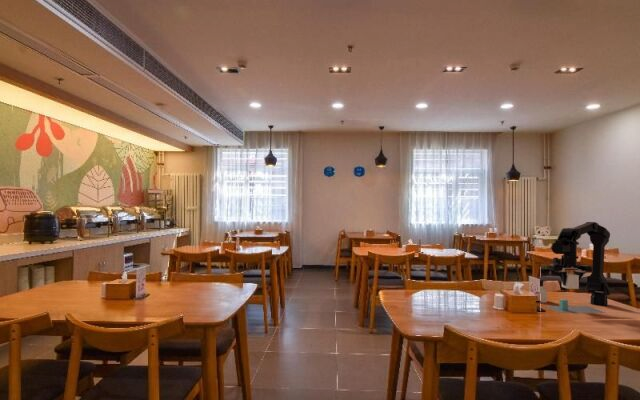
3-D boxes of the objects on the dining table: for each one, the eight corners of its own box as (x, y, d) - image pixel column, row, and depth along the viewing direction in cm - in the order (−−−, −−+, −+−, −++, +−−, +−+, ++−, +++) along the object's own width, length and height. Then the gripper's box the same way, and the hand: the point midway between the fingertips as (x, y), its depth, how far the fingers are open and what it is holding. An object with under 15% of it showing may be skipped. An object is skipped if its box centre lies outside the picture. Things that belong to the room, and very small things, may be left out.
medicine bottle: (541, 300, 221) (540, 278, 221) (547, 303, 214) (546, 280, 214) (527, 300, 221) (527, 278, 222) (532, 303, 214) (532, 280, 215)
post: (564, 309, 198) (564, 299, 198) (568, 310, 195) (567, 300, 195) (559, 309, 198) (559, 299, 198) (562, 310, 195) (562, 300, 195)
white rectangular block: (572, 287, 201) (572, 273, 201) (578, 288, 196) (578, 275, 196) (561, 286, 201) (561, 273, 201) (567, 288, 196) (567, 274, 196)
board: (586, 307, 205) (586, 306, 205) (606, 314, 191) (606, 312, 191) (543, 306, 206) (543, 305, 206) (559, 313, 192) (559, 312, 192)
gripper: (578, 252, 207) (578, 283, 206) (542, 251, 207) (542, 282, 207) (593, 254, 196) (593, 287, 195) (554, 253, 196) (554, 286, 196)
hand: (569, 285), depth 199 cm, fingers closed on white rectangular block, 5 cm apart
